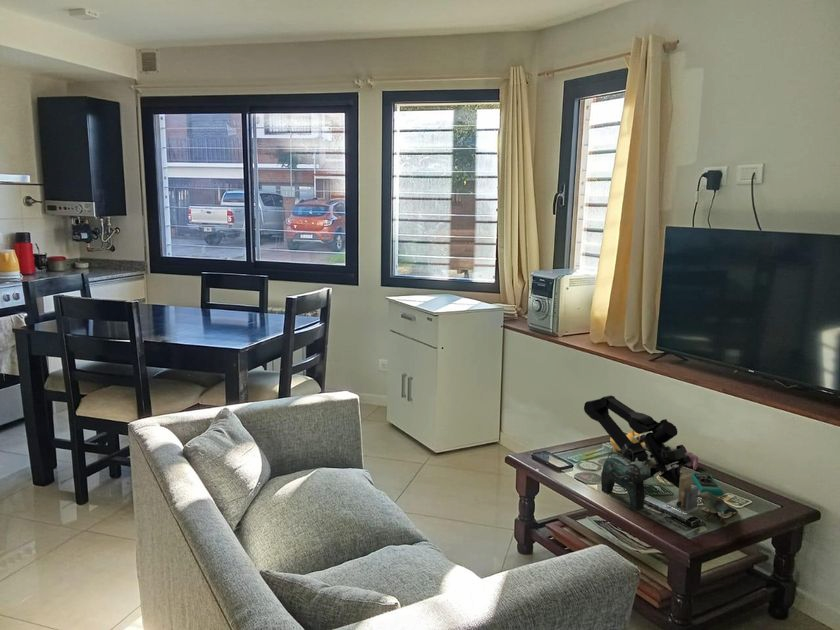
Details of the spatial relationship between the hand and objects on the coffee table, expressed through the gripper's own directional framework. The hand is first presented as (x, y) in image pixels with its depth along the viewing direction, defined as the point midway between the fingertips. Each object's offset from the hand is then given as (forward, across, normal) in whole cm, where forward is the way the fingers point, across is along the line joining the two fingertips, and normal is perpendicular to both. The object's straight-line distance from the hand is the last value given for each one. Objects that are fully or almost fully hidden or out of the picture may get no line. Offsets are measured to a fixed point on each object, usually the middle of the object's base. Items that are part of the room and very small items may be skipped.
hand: (681, 488), depth 223 cm
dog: (-23, +20, +33) cm, 45 cm away
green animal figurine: (-5, -14, +15) cm, 21 cm away
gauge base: (+5, 0, +4) cm, 7 cm away
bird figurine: (+14, +1, -4) cm, 14 cm away
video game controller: (-10, +31, +20) cm, 38 cm away
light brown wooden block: (+5, -1, +3) cm, 5 cm away
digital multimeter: (+2, +22, +8) cm, 23 cm away
